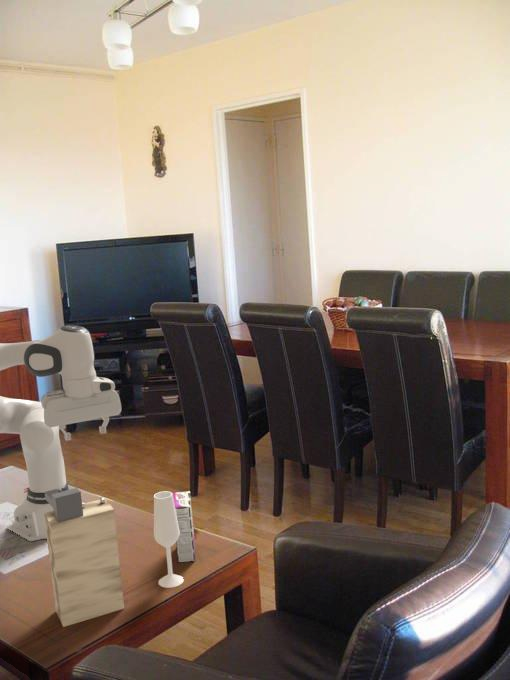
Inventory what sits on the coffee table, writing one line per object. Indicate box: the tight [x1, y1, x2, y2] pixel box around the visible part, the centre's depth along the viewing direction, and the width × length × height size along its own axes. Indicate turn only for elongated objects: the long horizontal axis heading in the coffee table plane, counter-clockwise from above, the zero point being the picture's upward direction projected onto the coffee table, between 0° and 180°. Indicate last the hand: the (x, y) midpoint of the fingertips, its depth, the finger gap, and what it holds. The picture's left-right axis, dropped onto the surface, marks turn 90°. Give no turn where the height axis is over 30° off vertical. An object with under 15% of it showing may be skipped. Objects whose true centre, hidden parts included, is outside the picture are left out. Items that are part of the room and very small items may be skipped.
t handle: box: [45, 487, 83, 523], centre depth 180 cm, size 16×6×6 cm, turn 31°
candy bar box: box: [173, 490, 196, 563], centre depth 207 cm, size 11×5×16 cm, turn 5°
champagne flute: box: [153, 490, 185, 589], centre depth 192 cm, size 7×7×24 cm
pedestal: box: [44, 496, 125, 628], centre depth 180 cm, size 8×15×27 cm, turn 117°
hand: (85, 436), depth 199 cm, fingers open, 8 cm apart
